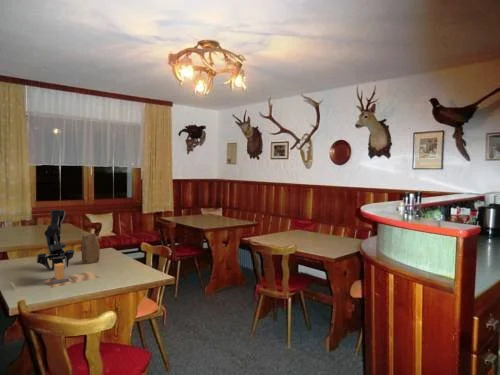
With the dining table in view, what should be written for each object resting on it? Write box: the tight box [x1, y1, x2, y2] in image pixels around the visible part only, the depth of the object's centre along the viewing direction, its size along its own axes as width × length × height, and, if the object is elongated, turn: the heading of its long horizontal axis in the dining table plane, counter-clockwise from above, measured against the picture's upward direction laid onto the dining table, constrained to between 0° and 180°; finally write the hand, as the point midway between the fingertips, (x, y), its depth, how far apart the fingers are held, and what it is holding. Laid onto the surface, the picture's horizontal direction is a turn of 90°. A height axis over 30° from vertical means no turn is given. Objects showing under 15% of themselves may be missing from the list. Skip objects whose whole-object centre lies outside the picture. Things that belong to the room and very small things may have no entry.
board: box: [43, 271, 101, 289], centre depth 208 cm, size 26×16×1 cm, turn 134°
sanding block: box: [49, 263, 69, 285], centre depth 202 cm, size 8×7×10 cm
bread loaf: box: [81, 232, 101, 265], centre depth 246 cm, size 11×8×20 cm
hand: (58, 268), depth 203 cm, fingers open, 9 cm apart
